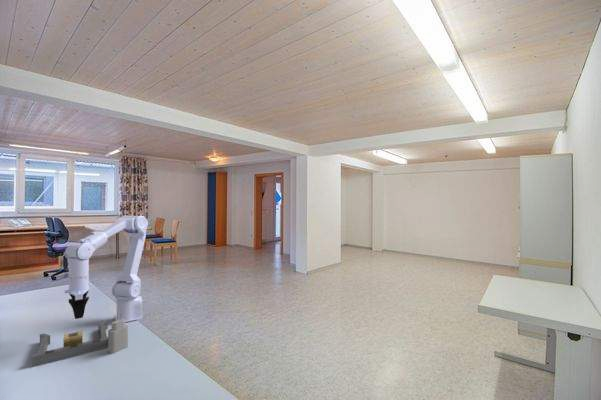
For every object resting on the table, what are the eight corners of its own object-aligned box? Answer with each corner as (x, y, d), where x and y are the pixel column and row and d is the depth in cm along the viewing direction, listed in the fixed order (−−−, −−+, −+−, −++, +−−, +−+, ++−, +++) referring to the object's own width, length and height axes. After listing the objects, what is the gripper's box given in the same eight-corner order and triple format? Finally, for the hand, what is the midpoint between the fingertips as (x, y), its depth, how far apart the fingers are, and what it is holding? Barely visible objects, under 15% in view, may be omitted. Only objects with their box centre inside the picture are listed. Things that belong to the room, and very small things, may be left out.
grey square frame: (107, 327, 115) (107, 320, 115) (110, 347, 100) (110, 338, 100) (39, 342, 103) (39, 333, 103) (31, 367, 88) (31, 356, 88)
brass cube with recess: (82, 344, 102) (82, 330, 102) (82, 349, 98) (82, 334, 98) (64, 349, 99) (64, 334, 99) (63, 354, 95) (63, 338, 95)
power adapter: (107, 351, 97) (107, 315, 97) (123, 344, 102) (123, 310, 102) (112, 354, 96) (112, 317, 96) (128, 346, 100) (128, 312, 100)
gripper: (65, 274, 107) (65, 310, 107) (63, 283, 95) (63, 324, 96) (89, 271, 111) (89, 306, 111) (89, 279, 100) (90, 319, 100)
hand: (79, 314), depth 104 cm, fingers open, 7 cm apart
